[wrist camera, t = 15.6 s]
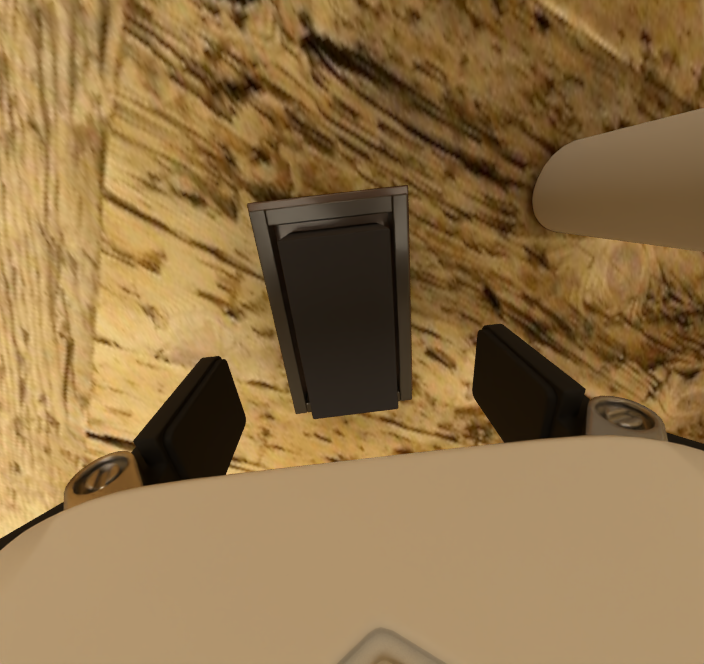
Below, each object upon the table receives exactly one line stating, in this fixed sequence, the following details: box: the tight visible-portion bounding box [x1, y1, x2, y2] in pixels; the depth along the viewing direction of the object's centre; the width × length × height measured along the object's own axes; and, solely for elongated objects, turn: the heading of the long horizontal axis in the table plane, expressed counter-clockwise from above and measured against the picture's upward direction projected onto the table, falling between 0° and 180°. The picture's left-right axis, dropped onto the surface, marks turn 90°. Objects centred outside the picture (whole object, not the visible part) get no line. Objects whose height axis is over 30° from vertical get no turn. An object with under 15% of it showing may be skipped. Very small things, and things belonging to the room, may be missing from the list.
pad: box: [277, 223, 398, 419], centre depth 17 cm, size 10×5×4 cm, turn 6°
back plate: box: [247, 185, 412, 414], centre depth 18 cm, size 14×9×2 cm, turn 6°
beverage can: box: [532, 108, 704, 252], centre depth 12 cm, size 5×5×12 cm
